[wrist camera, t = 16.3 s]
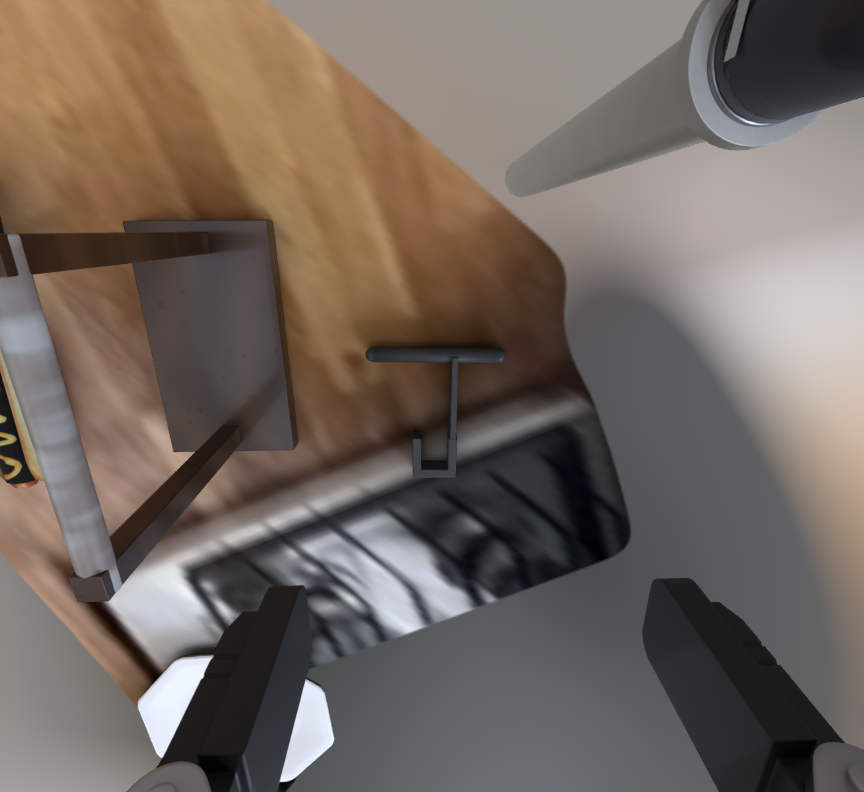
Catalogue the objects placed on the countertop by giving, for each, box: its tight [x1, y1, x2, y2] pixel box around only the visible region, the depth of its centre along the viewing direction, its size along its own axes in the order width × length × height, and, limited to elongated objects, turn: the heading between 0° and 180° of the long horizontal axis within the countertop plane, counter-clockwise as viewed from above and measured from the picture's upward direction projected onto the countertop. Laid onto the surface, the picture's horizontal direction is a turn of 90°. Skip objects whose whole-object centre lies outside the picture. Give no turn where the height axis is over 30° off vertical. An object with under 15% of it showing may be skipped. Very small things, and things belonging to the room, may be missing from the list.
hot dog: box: [0, 349, 44, 489], centre depth 35 cm, size 5×13×5 cm, turn 177°
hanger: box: [366, 347, 506, 478], centre depth 38 cm, size 11×2×11 cm
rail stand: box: [0, 220, 298, 602], centre depth 28 cm, size 10×18×19 cm, turn 0°
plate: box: [138, 653, 334, 782], centre depth 50 cm, size 20×20×2 cm
